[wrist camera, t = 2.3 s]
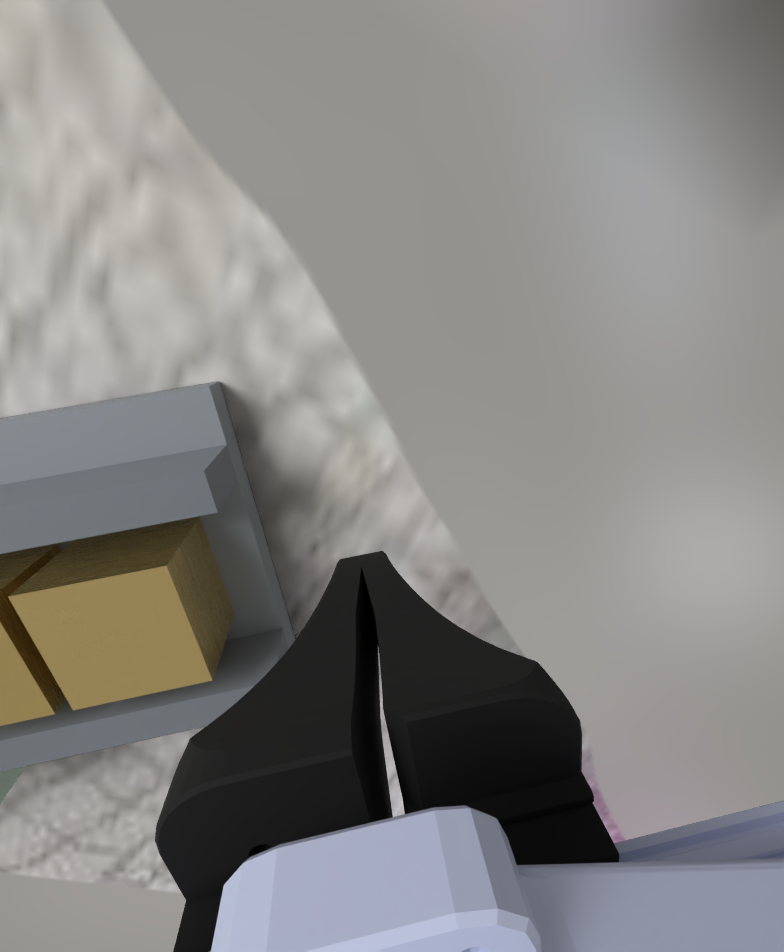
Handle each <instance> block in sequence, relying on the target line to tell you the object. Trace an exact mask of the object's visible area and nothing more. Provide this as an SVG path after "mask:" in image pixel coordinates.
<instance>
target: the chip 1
mask: <svg viewBox="0 0 784 952" xmlns="http://www.w3.org/2000/svg"><path fill="white" fill-rule="evenodd" d="M61 551H62V550H61V548H60V546H59V544H52V545H47V546H42V547H37V548H31V549H26V550H21V551H15V552H10V553H5V554H0V726H3V725H7V724H12V723H17V722H21V721H26V720H31V719H35V718H40V717H45V716H49V715H54V714H56V712H57V711H58V710H59V708H60V707H61V705H62V704H63V703H64V701H65V700H66V697H65V696H64V694H63V692H62V690H61V689H60V687H59V685H58V683H57V682H56V680H55V678H54V676H53V675H52V673H51V671H50V669H49V668H48V666H47V664H46V662H45V661H44V659H43V657H42V655H41V654H40V652H39V650H38V648H37V647H36V645H35V643H34V641H33V640H32V638H31V636H30V634H29V633H28V631H27V629H26V628H25V626H24V624H23V622H22V621H21V619H20V617H19V615H18V614H17V612H16V610H15V608H14V607H13V605H12V603H11V601H10V600H9V598H8V596H9V595H11V594H12V593H13V592H14V591H15V590H16V589H18V588H19V587H20V586H21V585H22V584H23V583H25V582H26V581H27V580H28V579H29V578H31V577H32V576H33V575H34V574H35V573H36V572H38V571H39V570H40V569H41V568H42V567H43V566H45V565H46V564H47V563H48V562H49V561H51V560H52V559H53V558H54V557H55V556H56V555H58V554H59V553H60V552H61Z"/></svg>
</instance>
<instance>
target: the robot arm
mask: <svg viewBox="0 0 784 952" xmlns="http://www.w3.org/2000/svg"><path fill="white" fill-rule="evenodd" d="M378 647H379V655H380V667H381V678H382V694H383V710H384V715H385V719H386V724H387V728H388V733H389V738H390V742H391V747H392V751H393V756H394V760H395V765H396V770H397V774H398V779H399V783H400V788H401V793H402V797H403V804H404V811H405V814H404V815H400V816H396V817H393V816H392V809H391V801H390V794H389V786H388V779H387V771H386V764H385V756H384V748H383V741H382V732H381V719H380V695H379V667H378ZM581 766H582V731H581V725H580V720H579V718H578V717H577V715H576V713H575V711H574V709H573V708H572V706H571V704H570V702H569V701H568V699H567V698H566V697H565V695H564V694H563V692H562V691H561V690H560V688H559V687H558V686H557V685H556V684H555V682H554V681H553V680H552V679H551V677H550V676H549V675H548V674H547V673H546V671H545V670H544V669H543V668H542V667H541V666H540V664H539V663H538V662H536V661H534V660H531V659H528V658H525V657H522V656H520V655H517V654H514V653H511V652H508V651H506V650H503V649H501V648H498V647H496V646H494V645H492V644H490V643H487V642H485V641H483V640H481V639H479V638H477V637H475V636H474V635H472V634H470V633H468V632H467V631H465V630H463V629H461V628H460V627H458V626H457V625H455V624H454V623H452V622H451V621H449V620H448V619H446V618H445V617H444V616H442V615H441V614H440V613H439V612H437V611H436V610H435V609H434V608H432V607H431V606H430V605H429V604H428V603H426V602H425V601H424V600H423V599H422V598H421V597H420V596H419V595H418V594H417V593H416V592H415V591H414V590H413V589H412V588H411V587H410V586H409V585H408V584H407V582H406V581H405V580H404V579H403V578H402V577H401V576H400V574H399V573H398V572H397V571H396V569H395V568H394V567H393V565H392V564H391V562H390V561H389V559H388V557H387V555H386V553H384V552H383V551H379V552H374V553H369V554H364V555H359V556H354V557H349V558H344V559H340V560H339V562H338V563H337V565H336V568H335V571H334V573H333V575H332V578H331V580H330V582H329V584H328V586H327V588H326V590H325V592H324V594H323V596H322V598H321V600H320V602H319V604H318V606H317V607H316V609H315V611H314V612H313V614H312V616H311V617H310V619H309V621H308V622H307V624H306V625H305V627H304V628H303V630H302V631H301V633H300V634H299V636H298V637H297V639H296V640H295V641H294V643H293V644H292V645H291V646H290V648H289V649H288V650H287V652H286V653H285V654H284V655H283V656H282V657H281V659H280V660H279V661H278V662H277V663H276V664H275V665H274V666H273V667H272V668H271V670H270V671H269V672H268V673H267V674H266V675H265V676H264V677H263V678H262V679H261V680H260V681H259V682H258V683H257V684H256V685H255V686H254V687H253V688H252V689H251V690H250V691H249V692H247V693H246V694H245V695H244V696H243V697H242V698H241V699H240V700H239V701H237V702H236V703H235V704H234V705H233V706H232V707H230V708H229V709H228V710H227V711H226V712H224V713H223V714H222V715H220V716H219V717H218V718H217V719H215V720H214V721H213V722H211V723H210V724H209V725H208V726H206V727H205V728H204V729H202V730H201V731H200V732H199V733H197V734H196V735H194V736H193V737H192V738H190V740H189V743H188V745H187V747H186V749H185V752H184V754H183V756H182V758H181V760H180V762H179V764H178V767H177V769H176V772H175V774H174V777H173V780H172V782H171V785H170V788H169V791H168V794H167V797H166V800H165V802H164V805H163V808H162V811H161V814H160V817H159V820H158V823H157V826H156V836H155V842H156V844H157V847H158V850H159V853H160V856H161V857H162V859H163V861H164V863H165V864H166V866H167V868H168V870H169V871H170V873H171V875H172V876H173V878H174V880H175V882H176V883H177V885H178V887H179V889H180V890H181V892H182V894H183V896H184V897H185V899H186V904H185V908H184V912H183V916H182V920H181V924H180V928H179V932H178V936H177V939H176V944H175V947H174V951H173V952H784V801H780V802H776V803H772V804H768V805H764V806H761V807H756V808H752V809H749V810H745V811H741V812H737V813H733V814H729V815H725V816H721V817H717V818H713V819H709V820H705V821H701V822H697V823H693V824H689V825H685V826H681V827H677V828H673V829H669V830H665V831H662V832H658V833H654V834H650V835H646V836H642V837H638V838H634V839H630V840H626V841H622V842H618V843H613V841H612V839H611V837H610V835H609V833H608V831H607V830H606V828H605V826H604V824H603V822H602V820H601V818H600V816H599V815H598V813H597V811H596V809H595V807H594V805H593V803H592V802H594V796H593V793H592V790H591V788H590V786H589V785H588V783H587V781H586V779H585V777H584V775H583V774H582V772H581Z"/></svg>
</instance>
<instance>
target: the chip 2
mask: <svg viewBox="0 0 784 952" xmlns="http://www.w3.org/2000/svg"><path fill="white" fill-rule="evenodd" d="M8 598H9V600H10V601H11V603H12V605H13V607H14V608H15V610H16V612H17V614H18V615H19V617H20V619H21V621H22V622H23V624H24V626H25V628H26V629H27V631H28V633H29V634H30V636H31V638H32V640H33V641H34V643H35V645H36V647H37V648H38V650H39V652H40V654H41V655H42V657H43V659H44V661H45V662H46V664H47V666H48V668H49V669H50V671H51V673H52V675H53V676H54V678H55V680H56V682H57V683H58V685H59V687H60V689H61V690H62V692H63V694H64V696H65V697H66V699H67V701H68V702H69V704H70V706H71V708H72V709H73V710H77V709H82V708H87V707H91V706H96V705H101V704H105V703H110V702H115V701H119V700H124V699H129V698H133V697H138V696H143V695H147V694H152V693H157V692H161V691H166V690H171V689H175V688H180V687H185V686H189V685H194V684H199V683H203V682H208V681H213V678H214V675H215V672H216V669H217V666H218V663H219V660H220V657H221V654H222V651H223V648H224V645H225V642H226V639H227V636H228V633H229V630H230V627H231V624H232V621H233V618H234V612H233V609H232V606H231V604H230V601H229V598H228V595H227V592H226V589H225V586H224V584H223V581H222V578H221V575H220V572H219V569H218V566H217V564H216V561H215V558H214V555H213V552H212V549H211V546H210V544H209V541H208V538H207V535H206V532H205V529H204V526H203V524H202V521H201V518H200V517H195V518H189V519H184V520H179V521H174V522H168V523H163V524H158V525H153V526H147V527H142V528H137V529H131V530H126V531H121V532H116V533H110V534H105V535H100V536H95V537H89V538H84V539H79V540H74V541H73V542H72V543H70V544H69V545H68V546H67V547H66V548H65V549H63V550H62V551H61V552H60V553H59V554H58V555H56V556H55V557H54V558H53V559H52V560H51V561H49V562H48V563H47V564H46V565H45V566H43V567H42V568H41V569H40V570H39V571H38V572H36V573H35V574H34V575H33V576H32V577H31V578H29V579H28V580H27V581H26V582H25V583H23V584H22V585H21V586H20V587H19V588H18V589H16V590H15V591H14V592H13V593H12V594H11V595H9V596H8Z"/></svg>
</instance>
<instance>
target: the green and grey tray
mask: <svg viewBox="0 0 784 952" xmlns="http://www.w3.org/2000/svg"><path fill="white" fill-rule="evenodd" d="M195 517H200V518H201V521H202V524H203V526H204V529H205V532H206V535H207V538H208V541H209V544H210V546H211V549H212V552H213V555H214V558H215V561H216V564H217V566H218V569H219V572H220V575H221V578H222V581H223V584H224V586H225V589H226V592H227V595H228V598H229V601H230V604H231V606H232V609H233V612H234V618H233V621H232V624H231V627H230V630H229V633H228V636H227V639H226V642H225V645H224V648H223V651H222V654H221V657H220V660H219V663H218V666H217V669H216V672H215V675H214V678H213V681H208V682H203V683H199V684H194V685H189V686H185V687H180V688H175V689H171V690H166V691H161V692H157V693H152V694H147V695H143V696H138V697H133V698H129V699H124V700H119V701H115V702H110V703H105V704H101V705H96V706H91V707H87V708H82V709H77V710H73V709H72V708H71V706H70V704H69V702H68V701H67V699H66V700H65V701H64V703H63V704H62V705H61V707H60V708H59V710H58V711H57V712H56V714H54V715H49V716H45V717H40V718H35V719H31V720H26V721H21V722H17V723H12V724H7V725H3V726H0V803H1V802H2V800H3V799H4V797H5V796H6V794H7V793H8V792H9V790H10V789H11V787H12V786H13V784H14V783H15V781H16V780H17V779H18V777H19V776H20V774H21V773H22V771H23V770H24V768H25V767H26V766H28V765H33V764H37V763H42V762H47V761H51V760H56V759H60V758H65V757H69V756H74V755H78V754H83V753H87V752H92V751H96V750H101V749H105V748H110V747H114V746H119V745H124V744H128V743H133V742H137V741H142V740H146V739H151V738H155V737H160V736H164V735H169V734H173V733H178V732H182V731H187V730H192V729H196V728H201V727H205V726H208V725H209V724H210V723H211V722H213V721H214V720H215V719H217V718H218V717H219V716H220V715H222V714H223V713H224V712H226V711H227V710H228V709H229V708H230V707H232V706H233V705H234V704H235V703H236V702H237V701H239V700H240V699H241V698H242V697H243V696H244V695H245V694H246V693H247V692H249V691H250V690H251V689H252V688H253V687H254V686H255V685H256V684H257V683H258V682H259V681H260V680H261V679H262V678H263V677H264V676H265V675H266V674H267V673H268V672H269V671H270V670H271V668H272V667H273V666H274V665H275V664H276V663H277V662H278V661H279V660H280V659H281V657H282V656H283V655H284V654H285V653H286V652H287V650H288V649H289V648H290V646H291V645H292V644H293V643H294V641H295V636H294V633H293V630H292V626H291V623H290V619H289V616H288V613H287V609H286V606H285V602H284V599H283V596H282V592H281V589H280V585H279V582H278V579H277V575H276V572H275V568H274V565H273V562H272V558H271V555H270V551H269V548H268V545H267V541H266V538H265V534H264V531H263V528H262V524H261V521H260V518H259V514H258V511H257V507H256V504H255V501H254V497H253V494H252V490H251V487H250V484H249V480H248V477H247V473H246V470H245V467H244V463H243V460H242V456H241V453H240V450H239V446H238V443H237V439H236V436H235V433H234V429H233V426H232V422H231V419H230V416H229V412H228V409H227V406H226V402H225V399H224V395H223V392H222V389H221V385H220V382H219V381H217V382H211V383H206V384H200V385H194V386H188V387H182V388H176V389H170V390H164V391H159V392H153V393H147V394H141V395H135V396H129V397H123V398H117V399H112V400H106V401H100V402H94V403H88V404H82V405H76V406H70V407H64V408H59V409H53V410H47V411H41V412H35V413H29V414H23V415H17V416H12V417H6V418H0V554H5V553H10V552H15V551H21V550H26V549H31V548H37V547H42V546H47V545H52V544H59V546H60V548H61V550H63V549H65V548H66V547H67V546H68V545H69V544H70V543H72V542H73V541H74V540H79V539H84V538H89V537H95V536H100V535H105V534H110V533H116V532H121V531H126V530H131V529H137V528H142V527H147V526H153V525H158V524H163V523H168V522H174V521H179V520H184V519H189V518H195Z"/></svg>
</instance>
